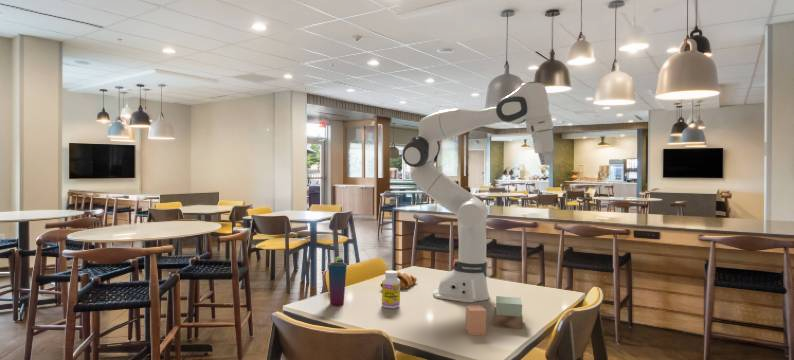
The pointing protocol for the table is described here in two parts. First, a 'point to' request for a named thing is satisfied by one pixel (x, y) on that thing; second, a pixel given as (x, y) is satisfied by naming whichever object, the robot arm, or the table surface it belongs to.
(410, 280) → the croissant
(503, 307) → the tower top
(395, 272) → the supplement bottle
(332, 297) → the cup
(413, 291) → the table surface
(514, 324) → the tower base
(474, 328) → the terracotta block
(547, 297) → the table surface
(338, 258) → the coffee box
